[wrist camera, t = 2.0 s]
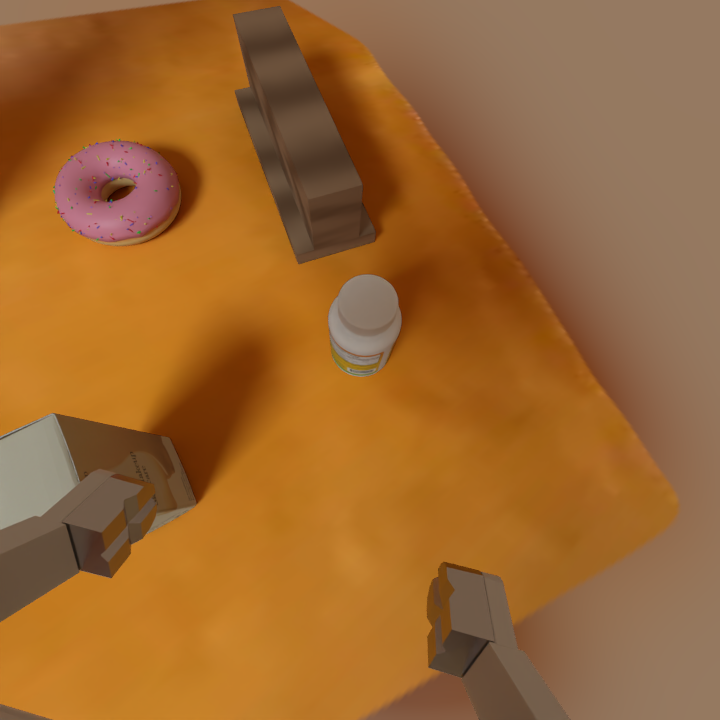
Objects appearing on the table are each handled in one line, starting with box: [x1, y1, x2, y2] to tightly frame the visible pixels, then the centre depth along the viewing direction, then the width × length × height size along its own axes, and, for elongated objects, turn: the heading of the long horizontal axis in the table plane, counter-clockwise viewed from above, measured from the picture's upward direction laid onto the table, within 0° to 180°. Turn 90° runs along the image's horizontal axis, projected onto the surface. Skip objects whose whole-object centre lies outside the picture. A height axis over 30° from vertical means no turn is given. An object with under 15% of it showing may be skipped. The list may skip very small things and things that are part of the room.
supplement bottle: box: [328, 274, 402, 376], centre depth 27 cm, size 5×5×10 cm
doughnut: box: [53, 139, 181, 246], centre depth 33 cm, size 11×11×4 cm
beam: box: [233, 6, 376, 264], centre depth 34 cm, size 22×8×8 cm, turn 21°
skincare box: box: [0, 413, 197, 534], centre depth 22 cm, size 6×4×12 cm
